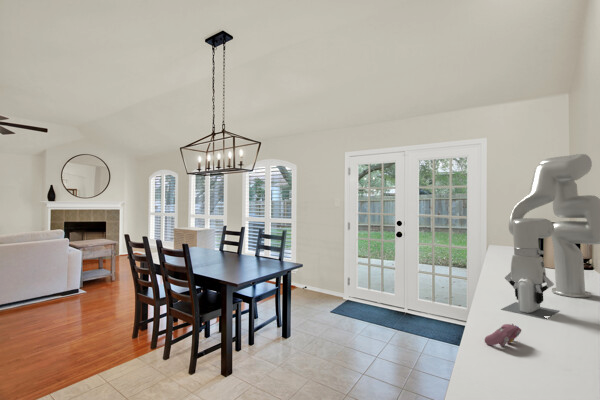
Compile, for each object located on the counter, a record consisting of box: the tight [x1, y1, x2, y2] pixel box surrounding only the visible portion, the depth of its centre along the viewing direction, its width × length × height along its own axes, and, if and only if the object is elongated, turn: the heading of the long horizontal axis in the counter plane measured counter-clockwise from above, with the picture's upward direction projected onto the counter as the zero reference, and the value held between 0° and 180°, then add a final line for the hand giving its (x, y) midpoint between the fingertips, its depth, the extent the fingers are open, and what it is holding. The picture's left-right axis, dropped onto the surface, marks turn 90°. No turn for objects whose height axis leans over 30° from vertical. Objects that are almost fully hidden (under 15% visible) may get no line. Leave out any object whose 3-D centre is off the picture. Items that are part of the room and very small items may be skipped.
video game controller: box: [484, 323, 522, 347], centre depth 87 cm, size 10×5×7 cm, turn 118°
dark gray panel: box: [500, 301, 560, 320], centre depth 114 cm, size 14×14×1 cm
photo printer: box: [517, 278, 541, 313], centre depth 114 cm, size 10×4×12 cm, turn 123°
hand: (529, 300), depth 114 cm, fingers open, 5 cm apart
